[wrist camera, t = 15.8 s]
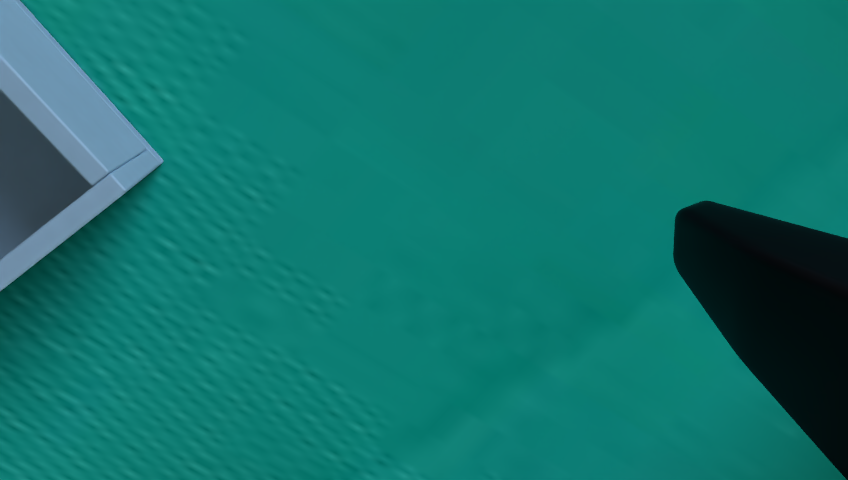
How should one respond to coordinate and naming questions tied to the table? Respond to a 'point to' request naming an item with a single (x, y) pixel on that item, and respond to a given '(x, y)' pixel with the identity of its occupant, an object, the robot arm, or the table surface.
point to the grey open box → (55, 145)
